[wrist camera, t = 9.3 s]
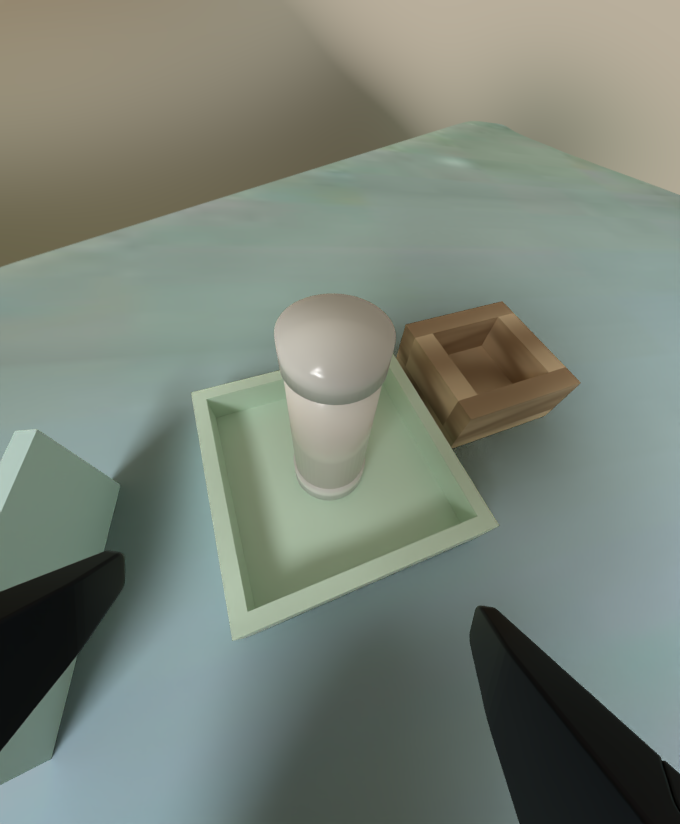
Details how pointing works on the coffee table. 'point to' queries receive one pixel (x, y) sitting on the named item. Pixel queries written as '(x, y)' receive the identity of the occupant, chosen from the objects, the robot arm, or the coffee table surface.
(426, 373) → the tan square frame block
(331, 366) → the ball
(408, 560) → the parts tray
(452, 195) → the coffee table surface
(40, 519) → the right angle wall
